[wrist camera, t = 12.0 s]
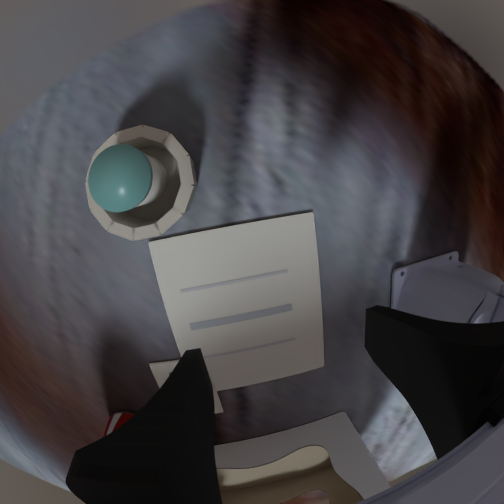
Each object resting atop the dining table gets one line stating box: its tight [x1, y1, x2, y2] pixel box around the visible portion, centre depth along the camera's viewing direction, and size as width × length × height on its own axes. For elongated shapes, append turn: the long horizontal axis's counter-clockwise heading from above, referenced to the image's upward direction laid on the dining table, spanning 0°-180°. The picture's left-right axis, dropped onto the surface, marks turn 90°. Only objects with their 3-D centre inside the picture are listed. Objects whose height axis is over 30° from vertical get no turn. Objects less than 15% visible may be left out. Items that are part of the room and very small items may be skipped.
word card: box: [149, 359, 224, 414], centre depth 22 cm, size 5×7×1 cm
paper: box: [148, 212, 324, 392], centre depth 21 cm, size 12×14×1 cm
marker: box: [88, 144, 168, 212], centre depth 14 cm, size 3×3×7 cm
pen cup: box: [85, 125, 197, 241], centre depth 16 cm, size 6×6×4 cm
